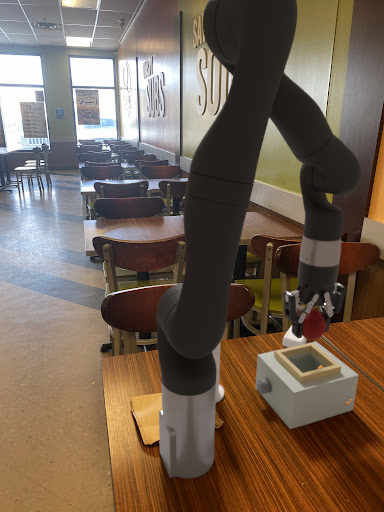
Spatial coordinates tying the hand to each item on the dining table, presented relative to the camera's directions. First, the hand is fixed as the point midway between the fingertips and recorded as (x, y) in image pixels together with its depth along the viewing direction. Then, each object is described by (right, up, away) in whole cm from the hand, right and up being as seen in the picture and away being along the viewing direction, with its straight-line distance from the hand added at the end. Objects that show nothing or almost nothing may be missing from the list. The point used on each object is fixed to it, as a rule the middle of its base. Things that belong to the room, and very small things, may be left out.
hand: (310, 333), depth 83 cm
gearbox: (0, -16, +6) cm, 17 cm away
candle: (-21, -15, +7) cm, 27 cm away
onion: (0, -2, +1) cm, 2 cm away
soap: (+5, -8, +29) cm, 30 cm away
